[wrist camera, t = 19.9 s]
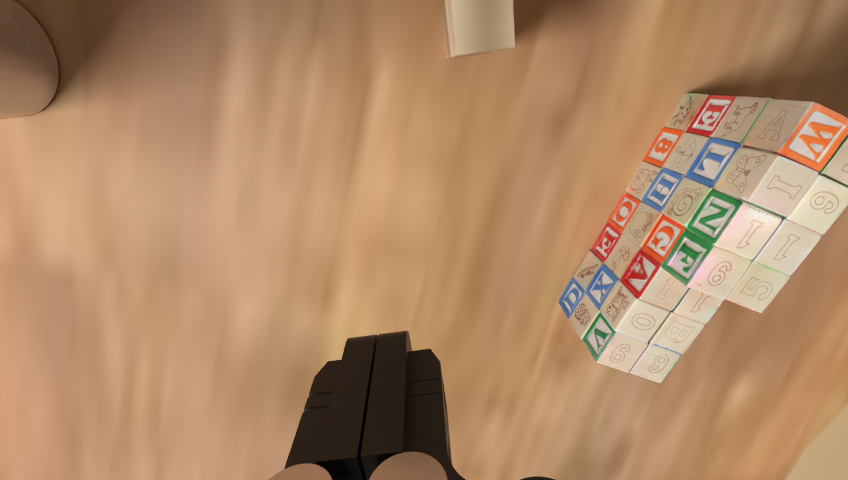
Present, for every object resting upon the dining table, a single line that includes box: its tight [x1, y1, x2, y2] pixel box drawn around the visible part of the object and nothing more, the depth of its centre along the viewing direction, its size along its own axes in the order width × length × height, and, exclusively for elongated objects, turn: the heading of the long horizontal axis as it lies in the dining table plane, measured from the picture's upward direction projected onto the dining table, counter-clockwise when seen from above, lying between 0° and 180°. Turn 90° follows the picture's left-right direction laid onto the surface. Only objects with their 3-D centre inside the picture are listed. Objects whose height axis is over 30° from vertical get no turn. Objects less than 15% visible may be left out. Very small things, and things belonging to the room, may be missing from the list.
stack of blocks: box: [559, 93, 848, 383], centre depth 32 cm, size 21×6×12 cm, turn 158°
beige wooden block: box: [442, 0, 515, 59], centre depth 28 cm, size 4×4×8 cm
